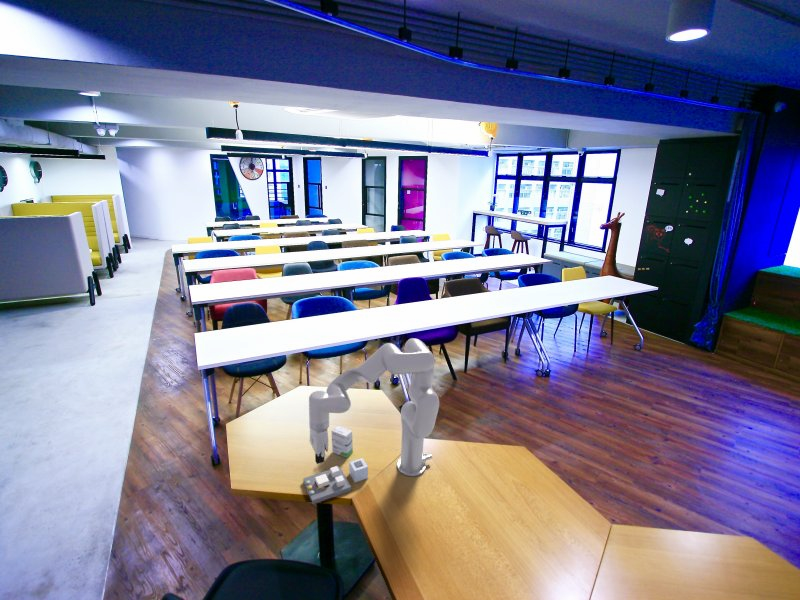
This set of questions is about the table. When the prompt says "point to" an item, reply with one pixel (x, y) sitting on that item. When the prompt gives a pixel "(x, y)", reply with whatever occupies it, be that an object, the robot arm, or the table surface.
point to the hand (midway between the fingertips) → (319, 461)
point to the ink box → (342, 441)
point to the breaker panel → (335, 487)
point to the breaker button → (322, 480)
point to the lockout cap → (358, 470)
